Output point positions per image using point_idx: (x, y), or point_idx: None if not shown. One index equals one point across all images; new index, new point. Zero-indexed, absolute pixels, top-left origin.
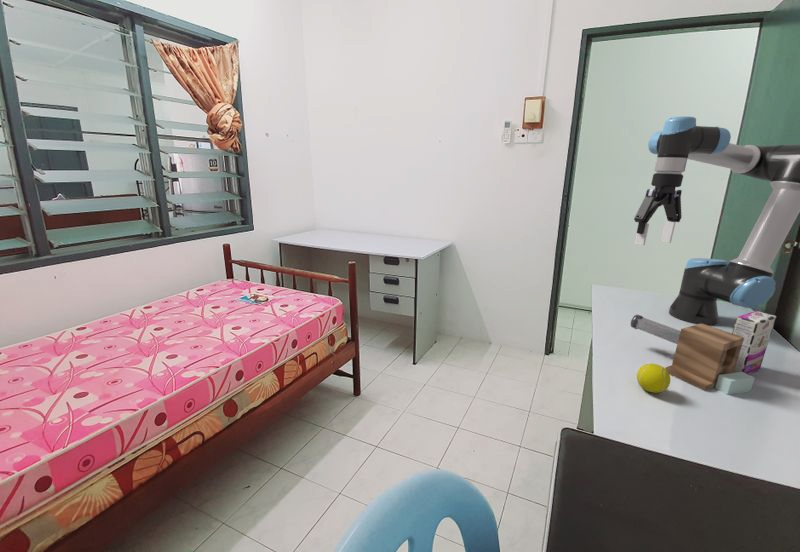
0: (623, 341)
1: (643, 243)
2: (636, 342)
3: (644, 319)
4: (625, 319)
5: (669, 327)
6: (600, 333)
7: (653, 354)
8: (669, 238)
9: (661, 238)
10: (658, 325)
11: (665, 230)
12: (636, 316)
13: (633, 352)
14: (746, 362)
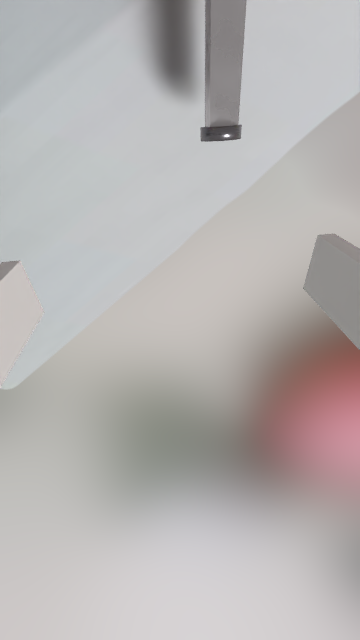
0: (207, 156)
1: (341, 238)
2: (182, 139)
3: (223, 110)
4: (93, 250)
5: (215, 7)
6: (216, 209)
7: None
8: (9, 281)
9: (38, 322)
10: (232, 44)
11: (3, 354)
12: (233, 132)
13: (243, 95)
14: None
